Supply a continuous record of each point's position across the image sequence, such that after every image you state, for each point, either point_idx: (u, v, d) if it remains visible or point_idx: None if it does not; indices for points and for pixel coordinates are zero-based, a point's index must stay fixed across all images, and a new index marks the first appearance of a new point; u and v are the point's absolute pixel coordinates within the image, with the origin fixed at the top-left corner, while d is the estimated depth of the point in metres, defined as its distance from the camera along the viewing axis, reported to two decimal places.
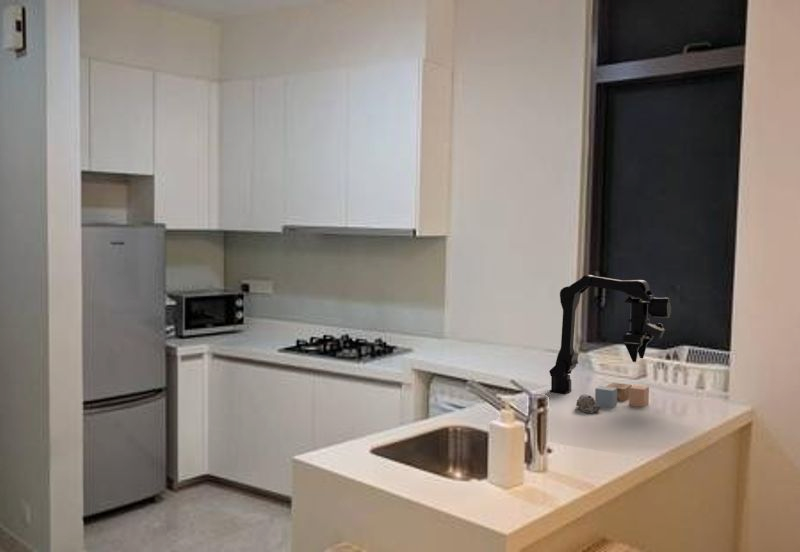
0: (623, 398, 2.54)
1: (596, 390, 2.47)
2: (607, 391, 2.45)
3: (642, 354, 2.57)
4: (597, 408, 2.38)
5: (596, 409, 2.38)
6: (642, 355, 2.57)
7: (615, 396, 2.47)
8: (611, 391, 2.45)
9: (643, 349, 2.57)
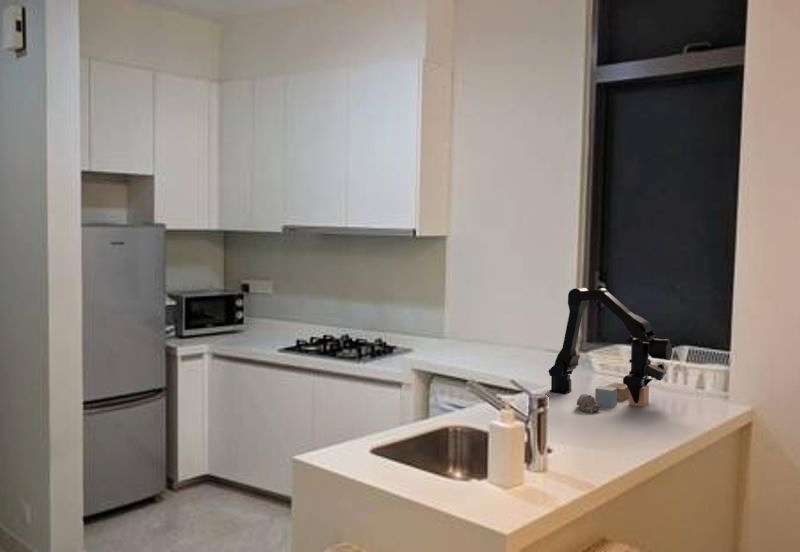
0: (622, 398, 2.54)
1: (596, 390, 2.47)
2: (607, 391, 2.45)
3: None
4: (597, 408, 2.39)
5: (596, 409, 2.39)
6: None
7: (615, 396, 2.47)
8: (611, 391, 2.45)
9: None
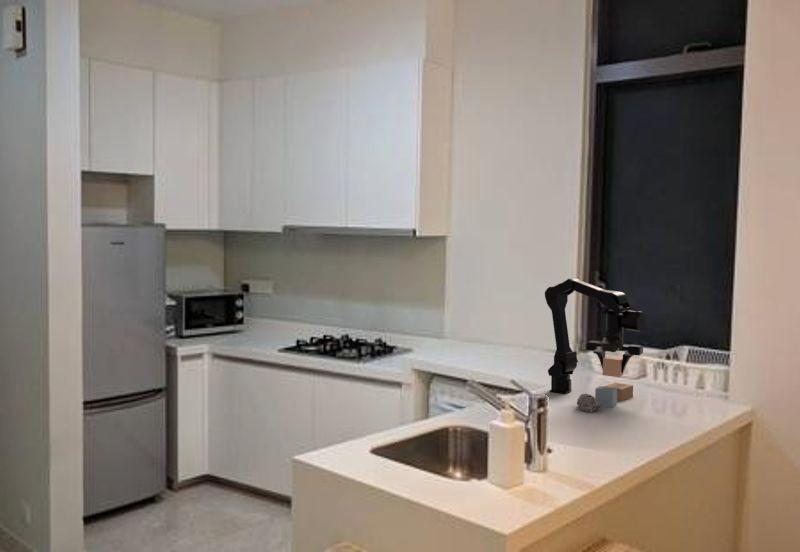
0: (620, 398, 2.55)
1: (596, 390, 2.47)
2: (607, 391, 2.45)
3: (621, 369, 2.51)
4: (597, 407, 2.39)
5: (596, 408, 2.39)
6: None
7: (615, 396, 2.47)
8: (611, 391, 2.45)
9: None
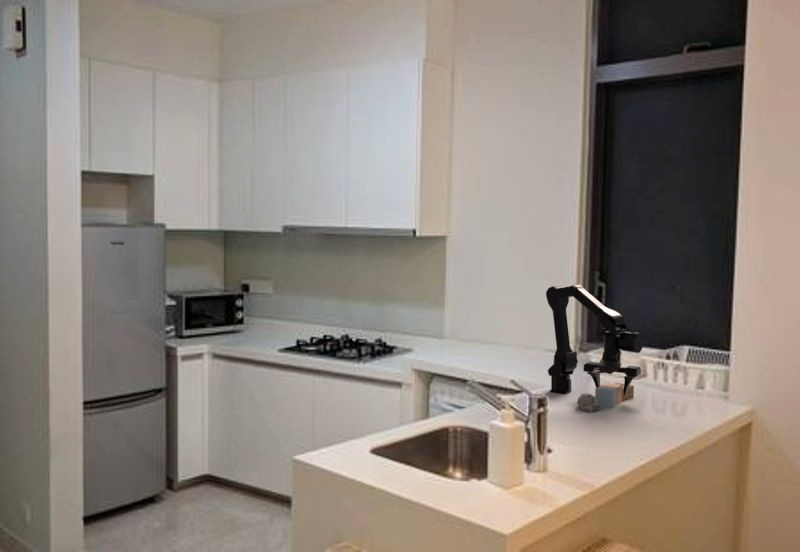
0: None
1: (596, 390, 2.47)
2: (607, 391, 2.45)
3: None
4: (597, 407, 2.40)
5: (596, 408, 2.40)
6: None
7: (615, 396, 2.47)
8: (611, 391, 2.45)
9: None
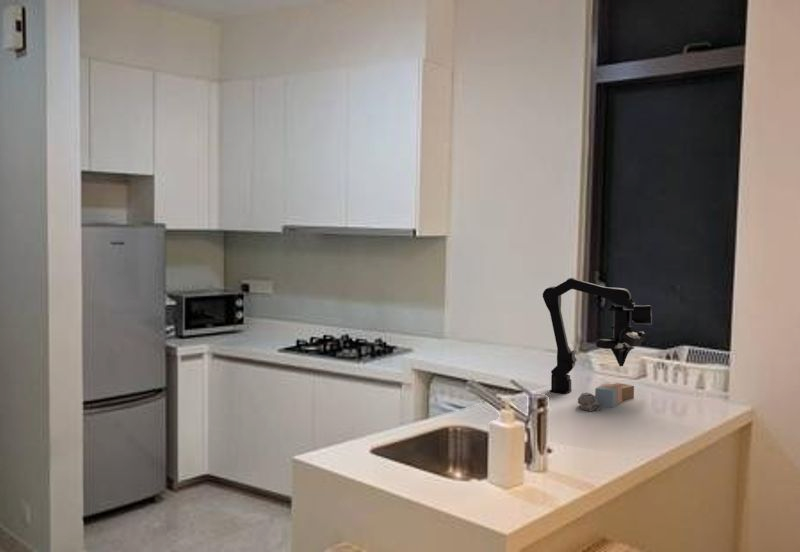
0: None
1: (596, 390, 2.47)
2: (607, 391, 2.45)
3: None
4: (597, 406, 2.41)
5: (596, 407, 2.41)
6: None
7: (615, 396, 2.47)
8: (611, 391, 2.44)
9: None
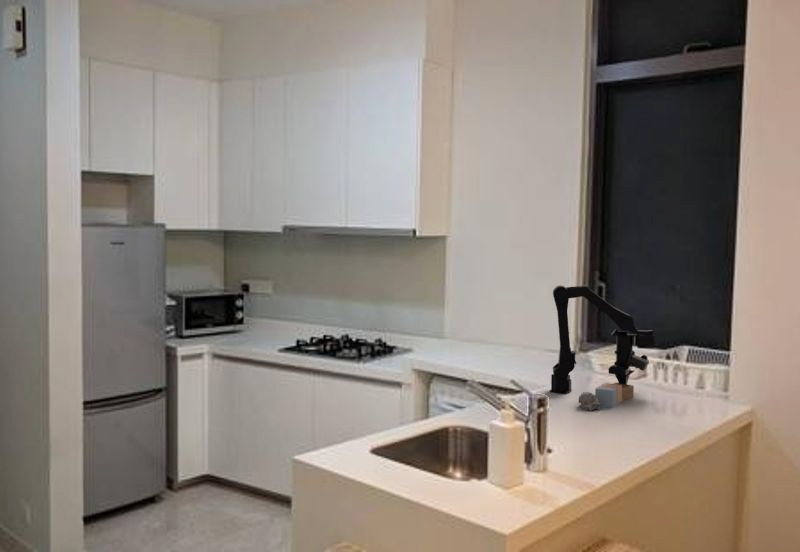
0: None
1: (596, 390, 2.47)
2: (607, 391, 2.45)
3: None
4: (597, 406, 2.41)
5: (596, 407, 2.41)
6: None
7: (615, 396, 2.47)
8: (611, 391, 2.44)
9: None
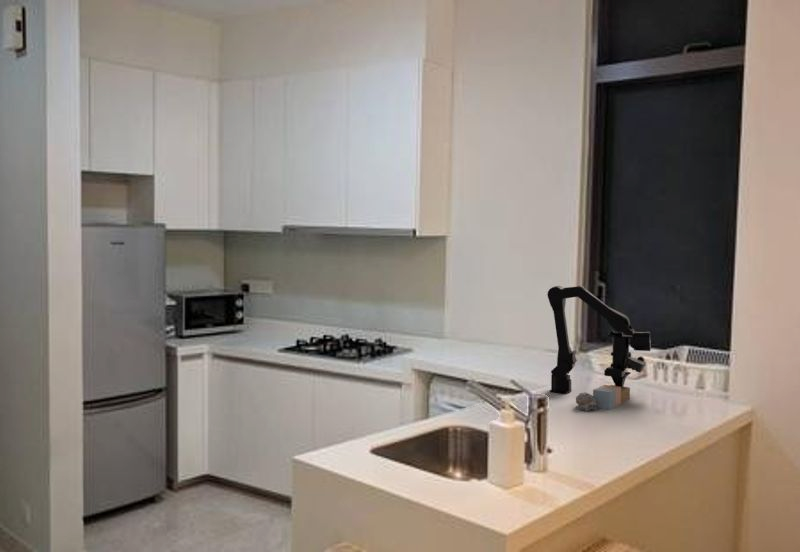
0: None
1: (594, 391, 2.45)
2: (604, 392, 2.43)
3: None
4: (594, 406, 2.40)
5: (593, 407, 2.40)
6: None
7: (613, 398, 2.44)
8: (608, 392, 2.42)
9: None
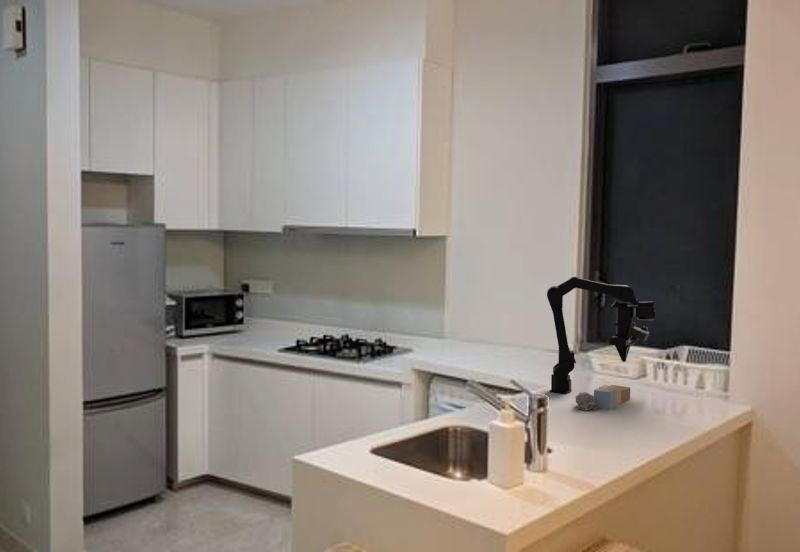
0: None
1: (595, 391, 2.45)
2: (605, 393, 2.43)
3: None
4: (593, 406, 2.41)
5: (592, 407, 2.41)
6: None
7: (614, 398, 2.44)
8: (609, 393, 2.42)
9: None
